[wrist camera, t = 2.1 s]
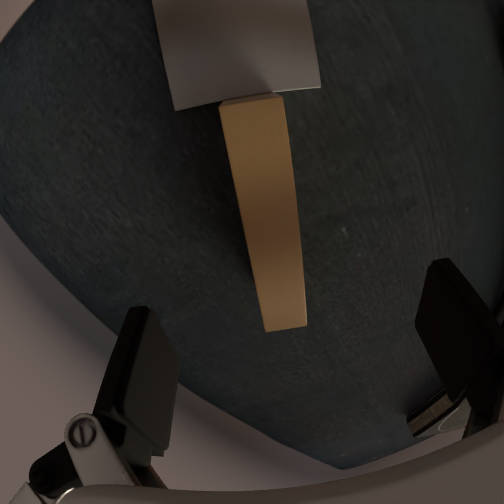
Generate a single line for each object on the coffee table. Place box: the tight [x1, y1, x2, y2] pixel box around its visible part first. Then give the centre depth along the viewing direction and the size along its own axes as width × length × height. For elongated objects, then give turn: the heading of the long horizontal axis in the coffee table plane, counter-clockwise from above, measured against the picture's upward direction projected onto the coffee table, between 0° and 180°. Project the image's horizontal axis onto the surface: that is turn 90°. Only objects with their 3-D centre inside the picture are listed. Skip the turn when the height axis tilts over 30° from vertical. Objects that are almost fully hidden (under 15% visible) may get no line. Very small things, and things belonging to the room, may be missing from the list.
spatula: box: [152, 0, 321, 332], centre depth 13 cm, size 20×7×4 cm, turn 10°
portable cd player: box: [407, 387, 471, 438], centre depth 31 cm, size 16×17×4 cm
